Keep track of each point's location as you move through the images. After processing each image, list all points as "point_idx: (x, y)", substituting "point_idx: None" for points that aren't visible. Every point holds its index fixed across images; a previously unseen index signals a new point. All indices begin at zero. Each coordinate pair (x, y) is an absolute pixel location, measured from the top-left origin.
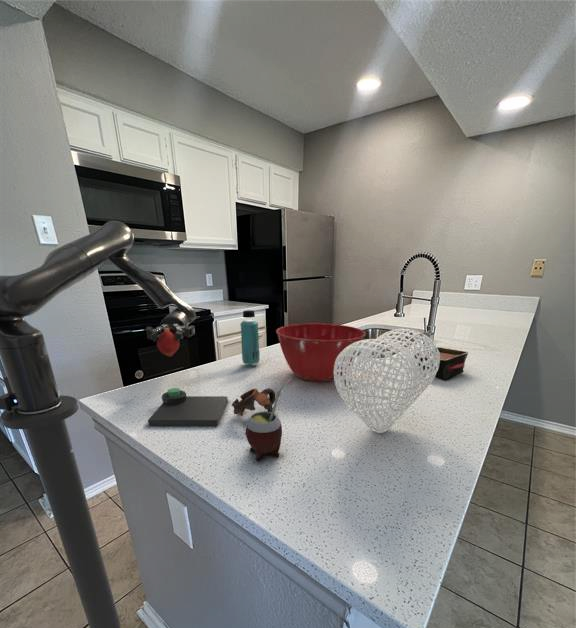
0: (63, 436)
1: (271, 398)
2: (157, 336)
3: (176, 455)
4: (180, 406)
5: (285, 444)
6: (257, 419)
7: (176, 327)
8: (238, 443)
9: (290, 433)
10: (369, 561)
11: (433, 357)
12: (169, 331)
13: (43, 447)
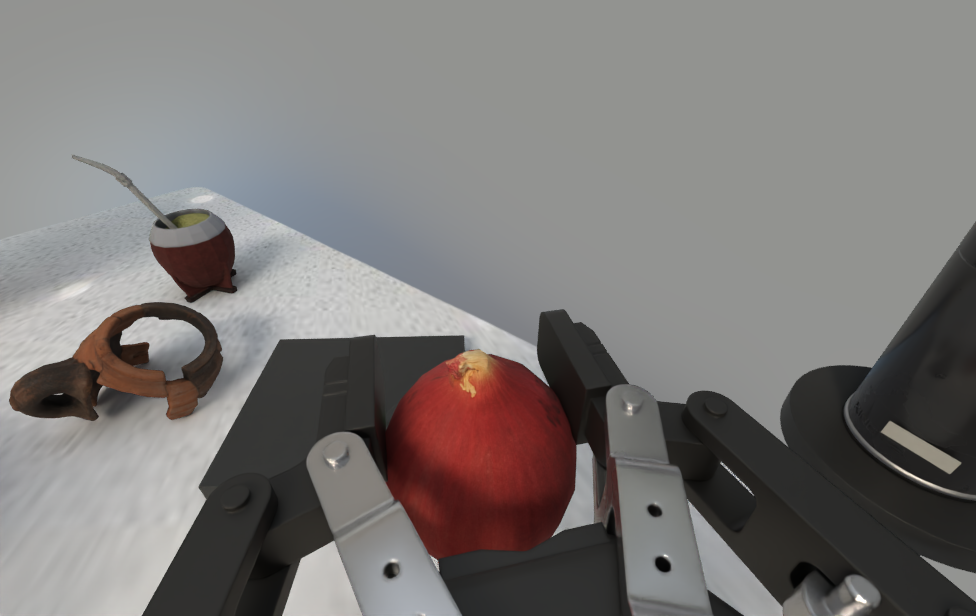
0: None
1: (48, 396)
2: (564, 390)
3: (373, 280)
4: (391, 400)
5: None
6: (197, 219)
7: (394, 504)
8: (252, 306)
9: None
10: (191, 202)
11: None
12: (449, 379)
13: None
